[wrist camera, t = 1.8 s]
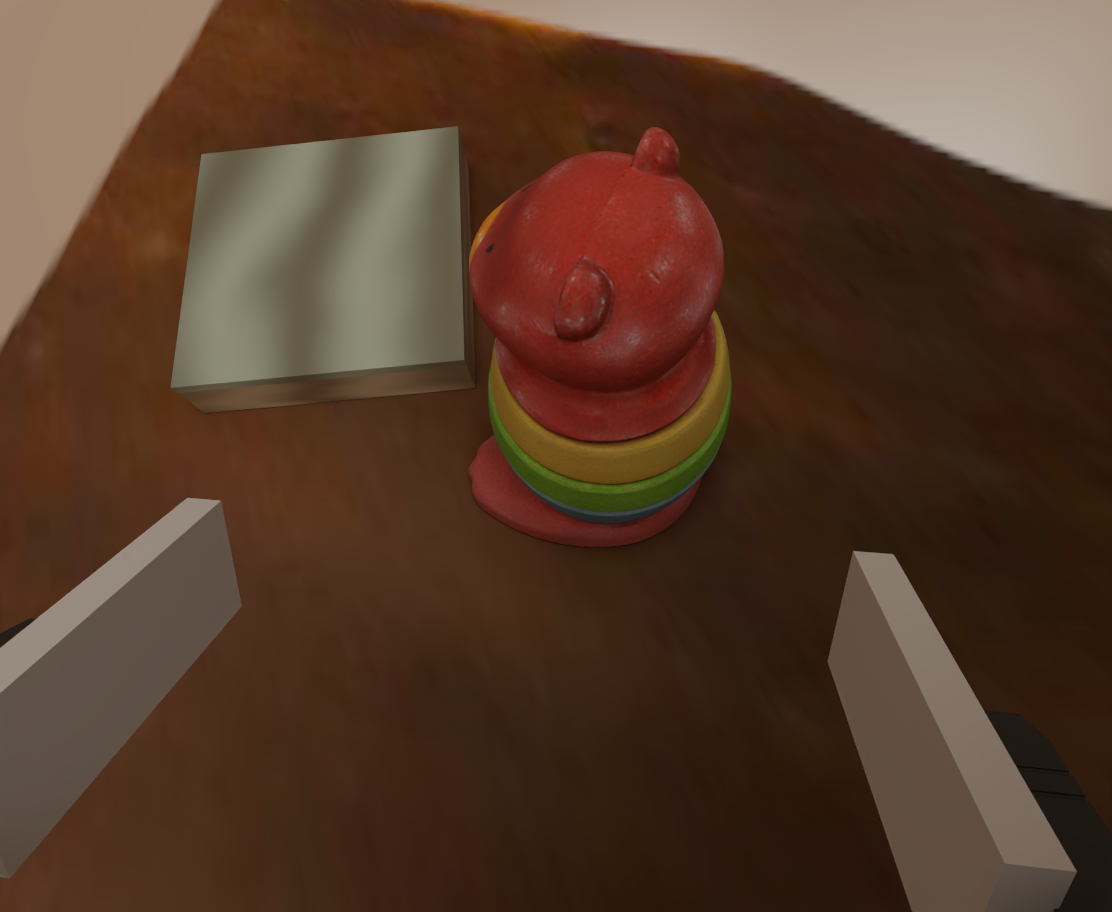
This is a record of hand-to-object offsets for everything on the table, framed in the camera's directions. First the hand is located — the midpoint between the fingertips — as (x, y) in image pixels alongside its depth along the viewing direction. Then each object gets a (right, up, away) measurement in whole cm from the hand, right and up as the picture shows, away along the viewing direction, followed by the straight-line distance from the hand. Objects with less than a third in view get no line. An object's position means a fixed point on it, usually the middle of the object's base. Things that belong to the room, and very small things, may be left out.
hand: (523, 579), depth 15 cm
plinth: (-11, +12, +24) cm, 29 cm away
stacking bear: (+3, +3, +20) cm, 20 cm away
